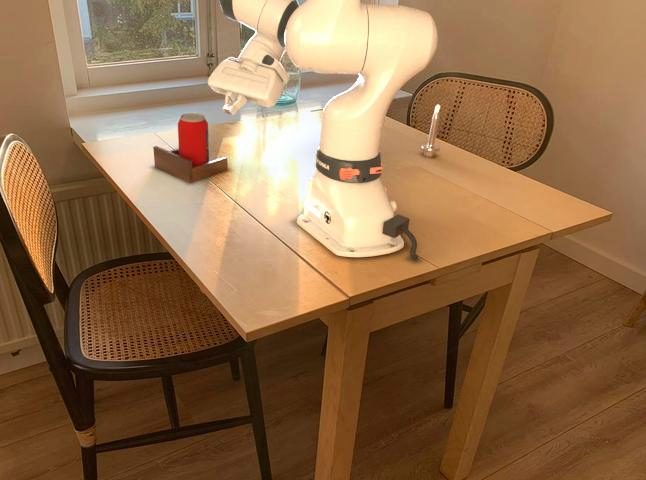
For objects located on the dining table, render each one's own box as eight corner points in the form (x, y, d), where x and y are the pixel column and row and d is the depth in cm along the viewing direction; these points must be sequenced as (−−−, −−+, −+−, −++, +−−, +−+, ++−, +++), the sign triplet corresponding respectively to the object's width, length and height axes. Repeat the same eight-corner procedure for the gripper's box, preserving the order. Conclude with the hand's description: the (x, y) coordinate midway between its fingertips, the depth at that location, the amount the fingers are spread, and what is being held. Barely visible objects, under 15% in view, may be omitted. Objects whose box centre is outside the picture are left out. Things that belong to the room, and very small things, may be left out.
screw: (442, 155, 150) (430, 159, 147) (427, 150, 153) (415, 154, 150) (452, 105, 143) (440, 108, 140) (436, 100, 146) (424, 103, 143)
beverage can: (215, 167, 136) (214, 116, 130) (195, 175, 132) (193, 123, 125) (193, 160, 139) (191, 110, 133) (173, 168, 135) (170, 116, 128)
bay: (192, 155, 142) (191, 135, 139) (227, 170, 135) (227, 149, 133) (154, 167, 135) (153, 146, 132) (190, 183, 128) (188, 161, 125)
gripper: (220, 47, 141) (190, 95, 140) (283, 62, 130) (252, 114, 129) (233, 64, 146) (205, 110, 145) (295, 79, 135) (265, 130, 134)
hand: (227, 112), depth 137 cm, fingers closed
